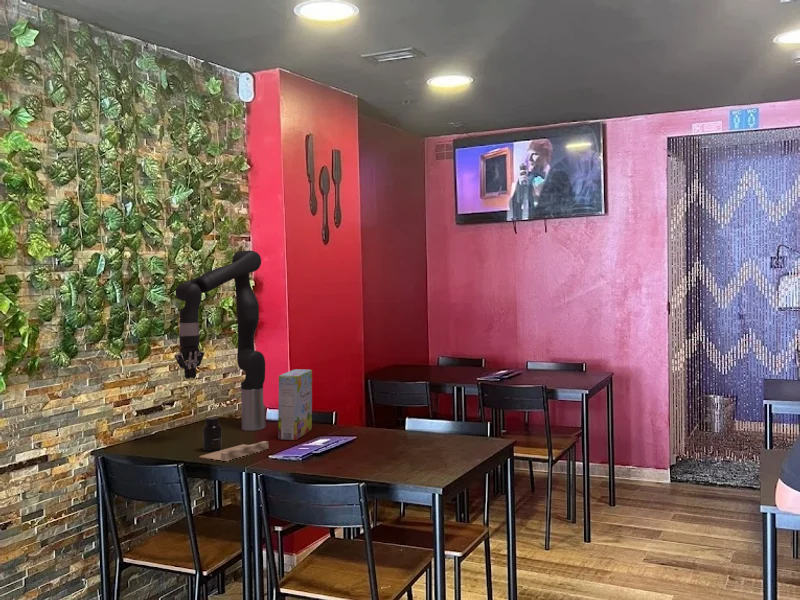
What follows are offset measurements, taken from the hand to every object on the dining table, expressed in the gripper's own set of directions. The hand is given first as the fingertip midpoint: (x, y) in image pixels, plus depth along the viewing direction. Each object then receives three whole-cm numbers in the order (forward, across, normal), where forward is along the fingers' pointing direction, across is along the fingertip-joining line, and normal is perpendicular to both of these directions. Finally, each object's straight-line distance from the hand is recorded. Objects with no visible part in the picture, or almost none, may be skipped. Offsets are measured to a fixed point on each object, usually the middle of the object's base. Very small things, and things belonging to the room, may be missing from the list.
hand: (190, 378), depth 304 cm
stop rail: (+25, +6, +35) cm, 43 cm away
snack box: (+25, -30, +28) cm, 48 cm away
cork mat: (+25, +6, +28) cm, 38 cm away
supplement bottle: (+25, +6, +18) cm, 32 cm away
